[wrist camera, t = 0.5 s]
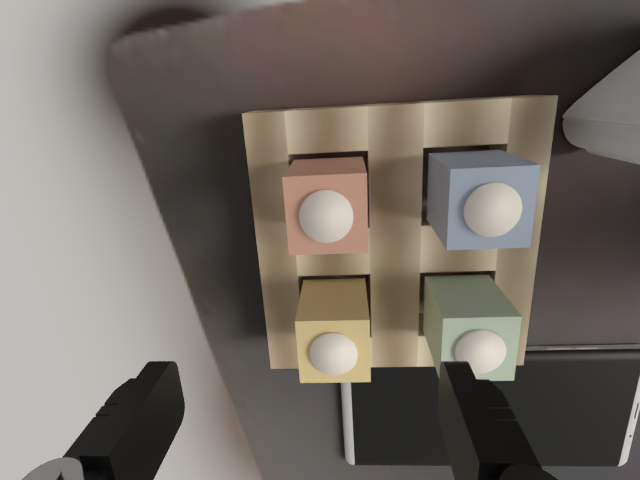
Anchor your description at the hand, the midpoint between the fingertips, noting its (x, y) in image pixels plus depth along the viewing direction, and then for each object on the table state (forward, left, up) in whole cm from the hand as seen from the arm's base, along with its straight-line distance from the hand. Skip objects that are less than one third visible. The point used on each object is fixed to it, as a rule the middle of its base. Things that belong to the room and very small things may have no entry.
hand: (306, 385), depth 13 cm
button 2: (0, +7, -18) cm, 19 cm away
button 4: (-9, +7, -18) cm, 21 cm away
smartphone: (-14, +21, -23) cm, 34 cm away
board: (-5, +3, -22) cm, 23 cm away
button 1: (0, -2, -18) cm, 18 cm away
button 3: (-9, -2, -18) cm, 20 cm away
